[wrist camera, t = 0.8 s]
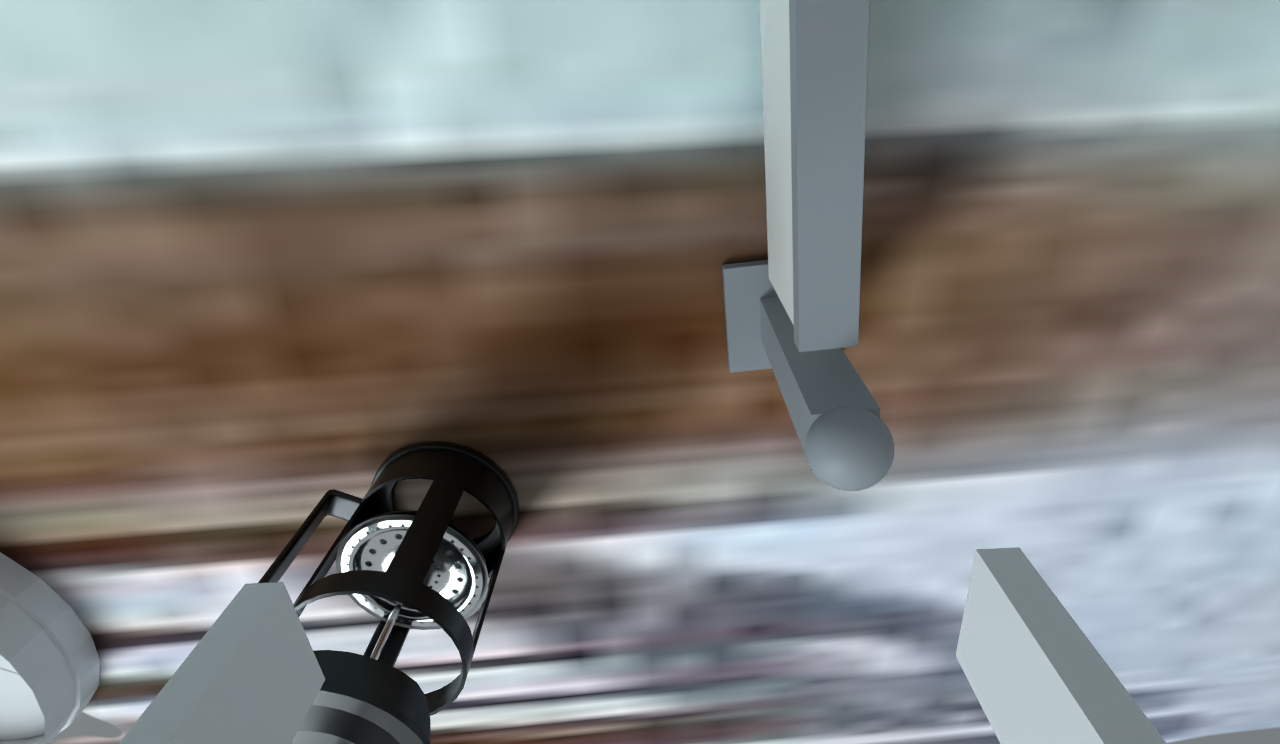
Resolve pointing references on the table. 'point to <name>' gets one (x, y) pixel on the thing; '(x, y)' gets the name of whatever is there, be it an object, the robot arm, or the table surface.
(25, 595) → the dish
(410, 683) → the french press
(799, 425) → the posts
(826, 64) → the grey long flat block
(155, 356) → the table surface
